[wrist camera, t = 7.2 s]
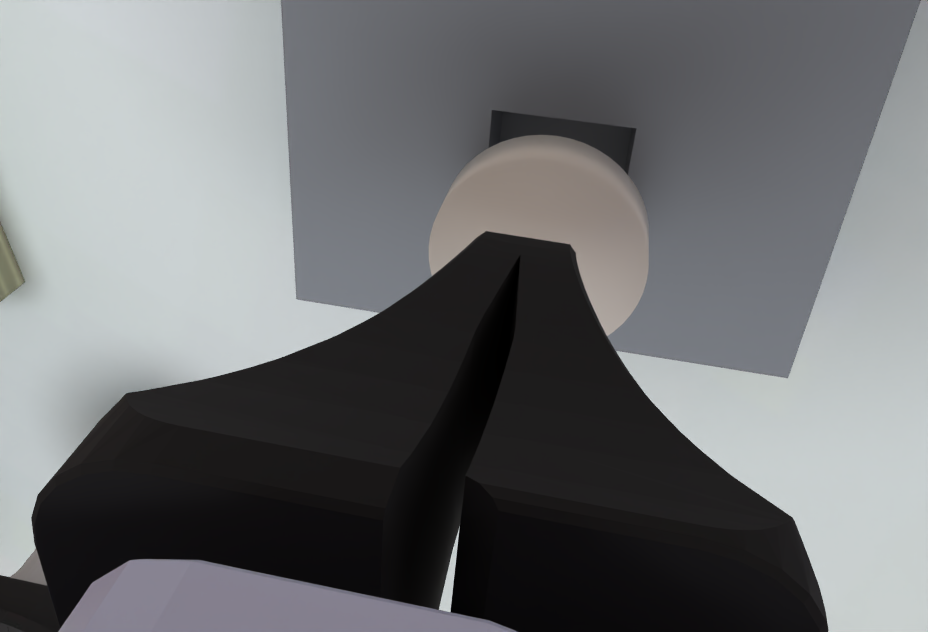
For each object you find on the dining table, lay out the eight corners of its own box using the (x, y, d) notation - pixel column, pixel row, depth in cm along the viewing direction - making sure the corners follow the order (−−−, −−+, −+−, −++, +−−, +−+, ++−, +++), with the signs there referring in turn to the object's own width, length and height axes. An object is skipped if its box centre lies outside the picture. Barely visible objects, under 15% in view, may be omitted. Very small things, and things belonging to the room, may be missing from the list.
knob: (666, 113, 17) (669, 177, 14) (631, 285, 19) (627, 369, 16) (466, 87, 17) (433, 145, 14) (455, 259, 19) (424, 336, 17)
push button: (268, 538, 31) (129, 816, 23) (139, 531, 32) (-38, 793, 24) (218, 392, 27) (32, 659, 19) (76, 391, 29) (-157, 641, 20)
